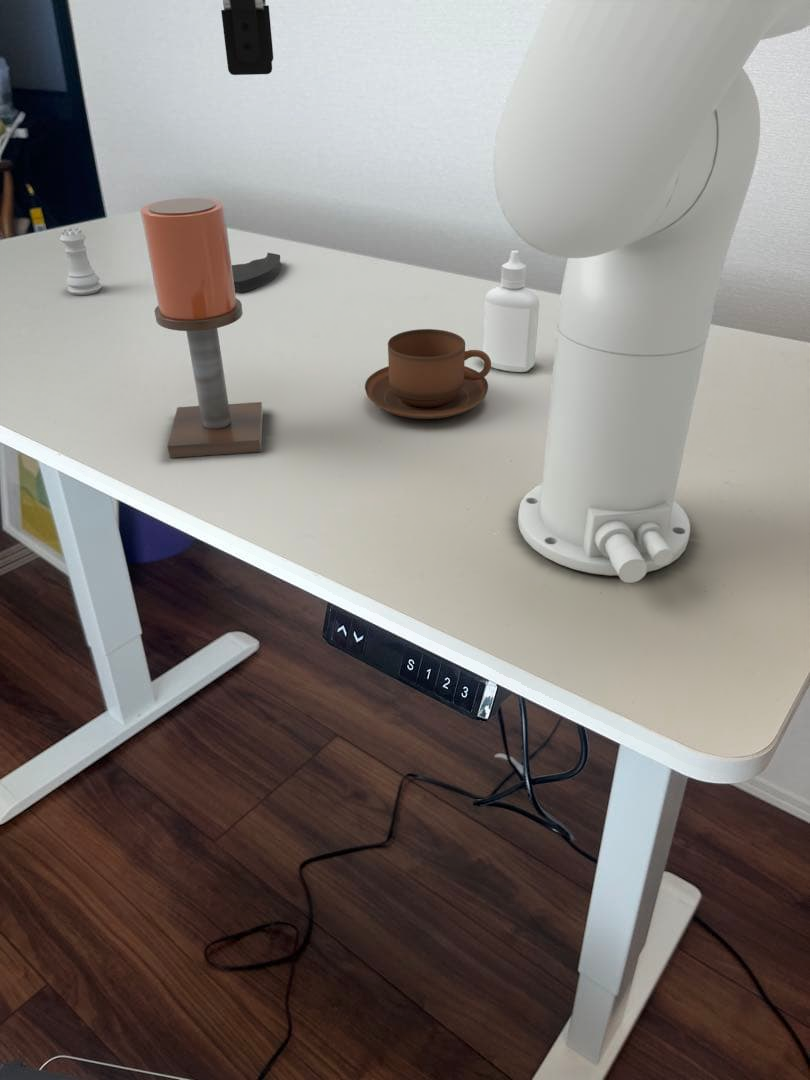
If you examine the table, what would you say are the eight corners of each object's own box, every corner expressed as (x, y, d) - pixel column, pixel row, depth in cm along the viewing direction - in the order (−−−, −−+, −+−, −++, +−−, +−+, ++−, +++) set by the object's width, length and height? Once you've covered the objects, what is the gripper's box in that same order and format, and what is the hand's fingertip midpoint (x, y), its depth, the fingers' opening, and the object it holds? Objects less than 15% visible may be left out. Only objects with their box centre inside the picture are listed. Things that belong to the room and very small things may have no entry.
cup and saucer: (457, 371, 87) (458, 314, 84) (508, 417, 78) (512, 355, 74) (349, 389, 84) (346, 330, 80) (390, 439, 74) (388, 375, 71)
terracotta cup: (234, 317, 66) (220, 213, 62) (154, 321, 66) (134, 216, 61) (238, 293, 72) (225, 195, 67) (164, 296, 71) (146, 198, 67)
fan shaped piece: (305, 269, 119) (304, 257, 118) (240, 294, 109) (239, 282, 108) (261, 260, 122) (260, 249, 121) (196, 284, 113) (194, 272, 112)
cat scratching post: (261, 452, 73) (244, 320, 66) (169, 458, 72) (142, 325, 65) (263, 413, 79) (248, 289, 72) (179, 418, 79) (156, 294, 72)
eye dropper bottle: (506, 378, 85) (514, 261, 78) (476, 360, 89) (480, 248, 82) (540, 369, 87) (550, 254, 80) (508, 352, 91) (515, 241, 84)
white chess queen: (68, 287, 113) (53, 227, 108) (102, 284, 114) (88, 224, 109) (67, 297, 109) (52, 235, 105) (102, 294, 110) (88, 232, 106)
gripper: (178, -204, 61) (212, 60, 71) (148, -259, 47) (194, 80, 57) (279, -203, 62) (298, 58, 72) (278, -257, 48) (303, 78, 58)
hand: (252, 68), depth 64 cm, fingers open, 9 cm apart
